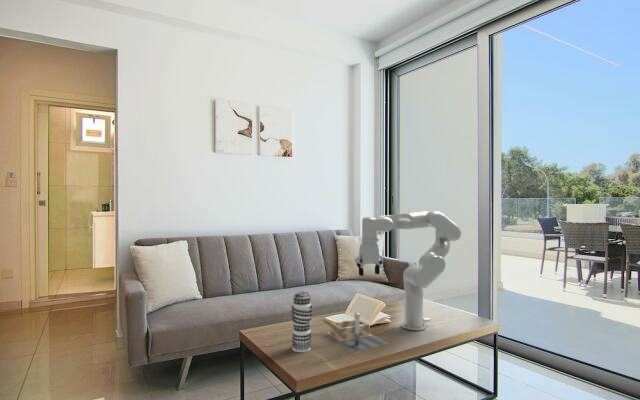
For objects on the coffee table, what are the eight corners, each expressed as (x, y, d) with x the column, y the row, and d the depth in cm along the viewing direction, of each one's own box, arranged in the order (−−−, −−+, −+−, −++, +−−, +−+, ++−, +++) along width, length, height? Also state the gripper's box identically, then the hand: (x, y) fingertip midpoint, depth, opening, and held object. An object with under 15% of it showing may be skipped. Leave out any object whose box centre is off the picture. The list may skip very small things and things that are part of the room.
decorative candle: (300, 343, 181) (301, 289, 181) (316, 348, 175) (316, 292, 175) (287, 348, 174) (287, 293, 174) (302, 354, 168) (302, 296, 168)
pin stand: (359, 329, 201) (360, 299, 201) (390, 346, 178) (390, 312, 178) (323, 335, 192) (323, 303, 192) (350, 354, 168) (350, 318, 168)
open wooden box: (358, 328, 198) (358, 318, 198) (369, 334, 189) (369, 324, 189) (330, 333, 191) (330, 322, 191) (340, 339, 182) (340, 329, 182)
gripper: (379, 240, 207) (378, 272, 207) (351, 241, 199) (350, 274, 199) (387, 241, 200) (387, 274, 200) (358, 242, 192) (358, 277, 193)
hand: (369, 274), depth 200 cm, fingers open, 9 cm apart
